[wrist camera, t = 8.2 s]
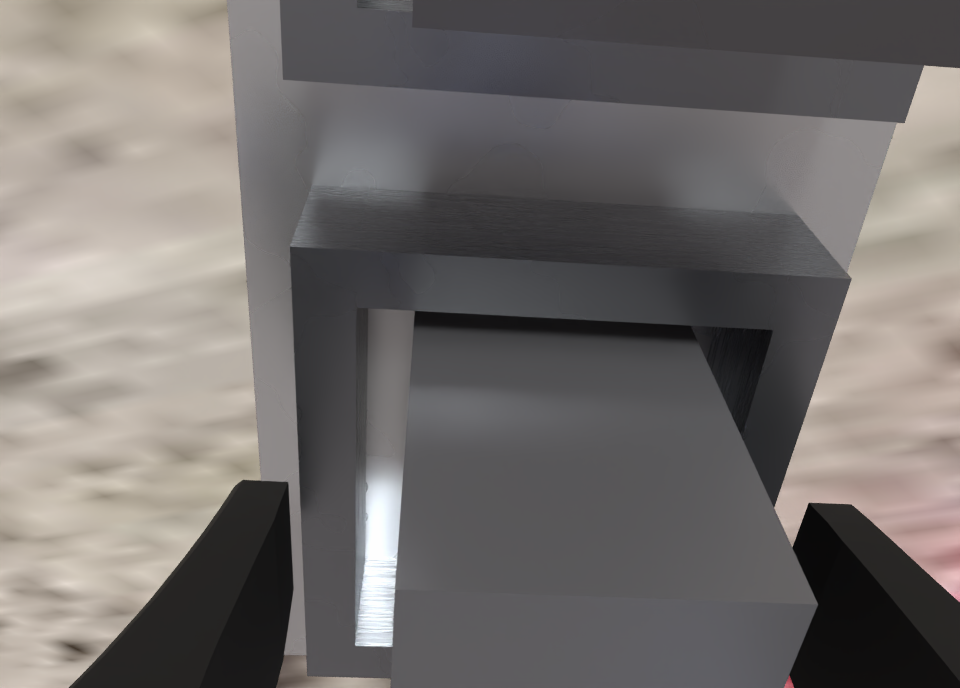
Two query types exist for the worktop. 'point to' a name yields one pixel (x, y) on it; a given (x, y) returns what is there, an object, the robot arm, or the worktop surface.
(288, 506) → the robot arm
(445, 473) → the plug block
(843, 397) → the worktop surface
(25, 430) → the worktop surface
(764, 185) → the power strip
